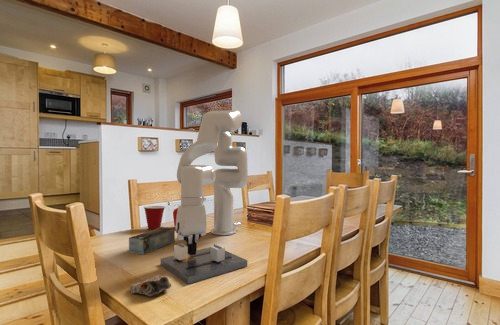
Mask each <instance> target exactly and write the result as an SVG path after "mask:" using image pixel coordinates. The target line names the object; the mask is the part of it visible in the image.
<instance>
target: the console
mask: <svg viewBox="0 0 500 325" xmlns="http://www.w3.org/2000/svg"><path fill="white" fill-rule="evenodd" d="M211 247H212V246H210V247H206V248H201V249H197V251H196V255H192V256H191V255H190V254H188V258H187V259H183V260H178V259H176V258H175V257H174V255H169V256H166V257H165V256H164V257H160V265H161V266H162V267H163V268H165V269H167V270H168V271H169V272H171V274H173V275H174V276H176V277H177V278H179V279H180V280H181V281H183V282H184V283H186V284H187V285H190V284H193V283H197V282H199V281H204V280H207V279H210V278H213V277H216V276H220V275H224V274H227V273H230V272H232V271H236V270H239V269H242V268H247V267H248V260H247V259H245V258H243V257H241V256H240V255H239V256H238V255H236V254H234V253H232V252H230V251H227V250H225V260H222V261H218V262H216V261H215V260H213V259H211Z"/></svg>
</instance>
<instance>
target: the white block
mask: <svg viewBox="0 0 500 325" xmlns="http://www.w3.org/2000/svg"><path fill="white" fill-rule="evenodd" d="M210 247H211V259H213V260H215V261H216V262H218V261H222V260H225V251H226V248H225V247H223V246H222V245H219V244H213V245H212V246H210Z"/></svg>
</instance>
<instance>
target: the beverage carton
mask: <svg viewBox="0 0 500 325" xmlns="http://www.w3.org/2000/svg"><path fill="white" fill-rule="evenodd" d="M175 233H176V228H175V227H165V226H161V227H159V228H157V229H154V230H148V231H145V232H143V233H140V234H137V235H133V236H131V237H129V238H128V249H129V251H128V252H129V253H131V254H138V255H142V256H143V255H146V254H149V253H151V252H154V251H155V250H159V249H160V248H162V247H165V246H168V245H170V244H172V243H174V242H175V241H176V238H175V236H176V234H175Z"/></svg>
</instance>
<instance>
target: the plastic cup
mask: <svg viewBox="0 0 500 325" xmlns="http://www.w3.org/2000/svg"><path fill="white" fill-rule="evenodd" d="M143 208H144V213H145V217H146V223H147V228H148V231H151V230H154V229H157V228H159V227H162V221H163V215H164V211H165V208H166V206H164V205H145V206H143Z"/></svg>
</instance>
